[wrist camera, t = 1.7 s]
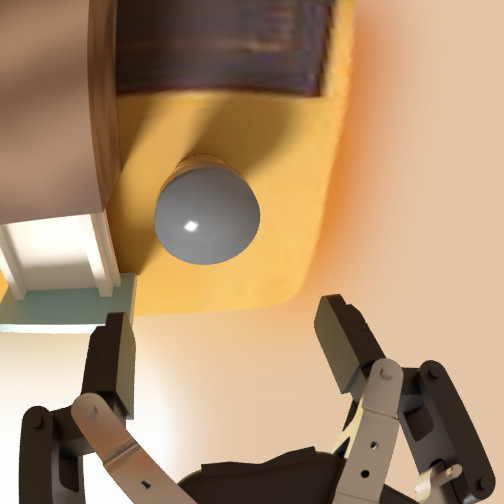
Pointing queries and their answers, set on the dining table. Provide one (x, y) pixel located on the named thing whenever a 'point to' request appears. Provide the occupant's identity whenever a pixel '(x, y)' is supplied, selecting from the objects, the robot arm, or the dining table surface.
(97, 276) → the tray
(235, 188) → the grey domed disc
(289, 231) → the dining table surface
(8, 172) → the housing
